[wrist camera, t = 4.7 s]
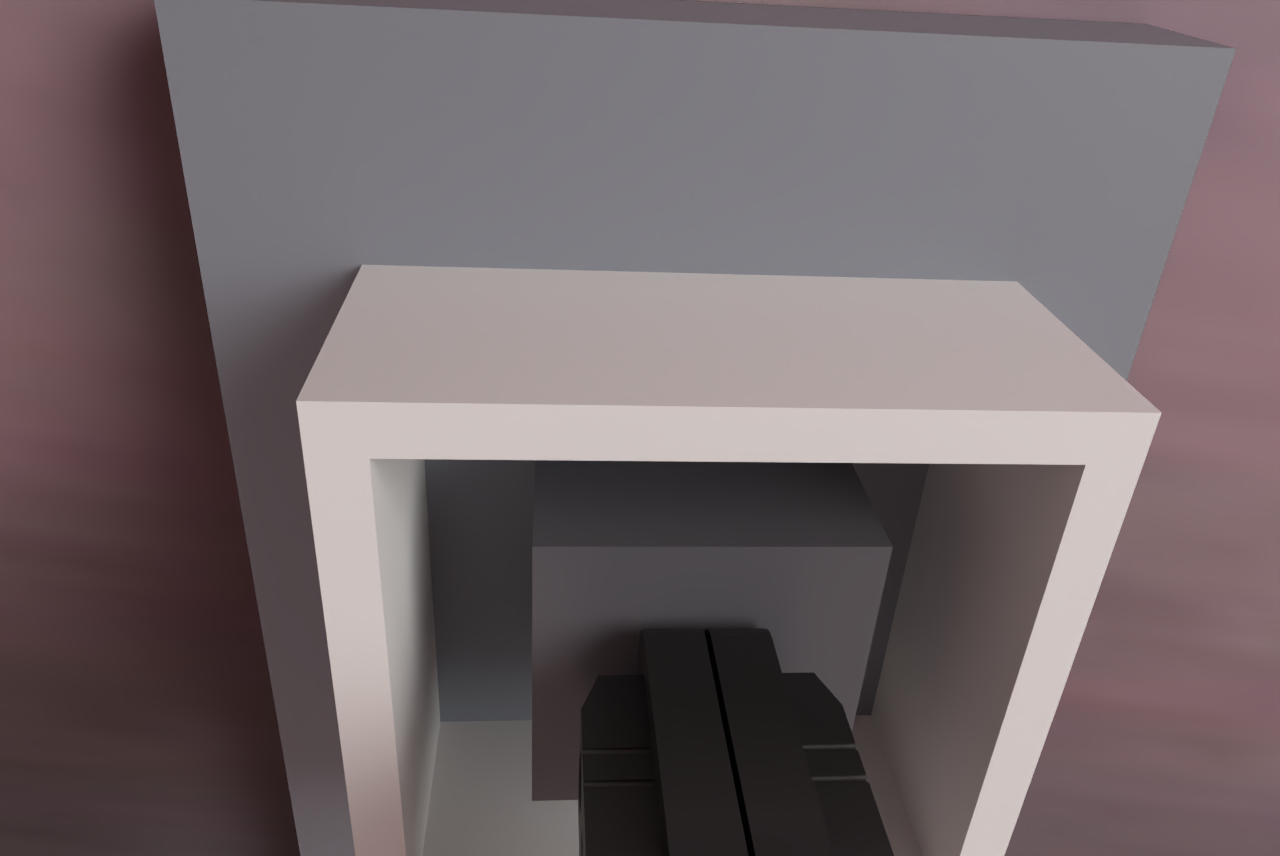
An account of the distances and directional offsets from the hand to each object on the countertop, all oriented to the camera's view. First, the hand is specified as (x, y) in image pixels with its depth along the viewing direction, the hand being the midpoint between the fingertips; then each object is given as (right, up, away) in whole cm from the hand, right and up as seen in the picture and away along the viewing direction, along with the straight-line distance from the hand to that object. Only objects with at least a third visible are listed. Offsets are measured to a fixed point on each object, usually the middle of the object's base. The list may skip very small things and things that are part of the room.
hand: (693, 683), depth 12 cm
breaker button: (0, +1, +2) cm, 2 cm away
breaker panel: (-1, -2, +7) cm, 7 cm away
